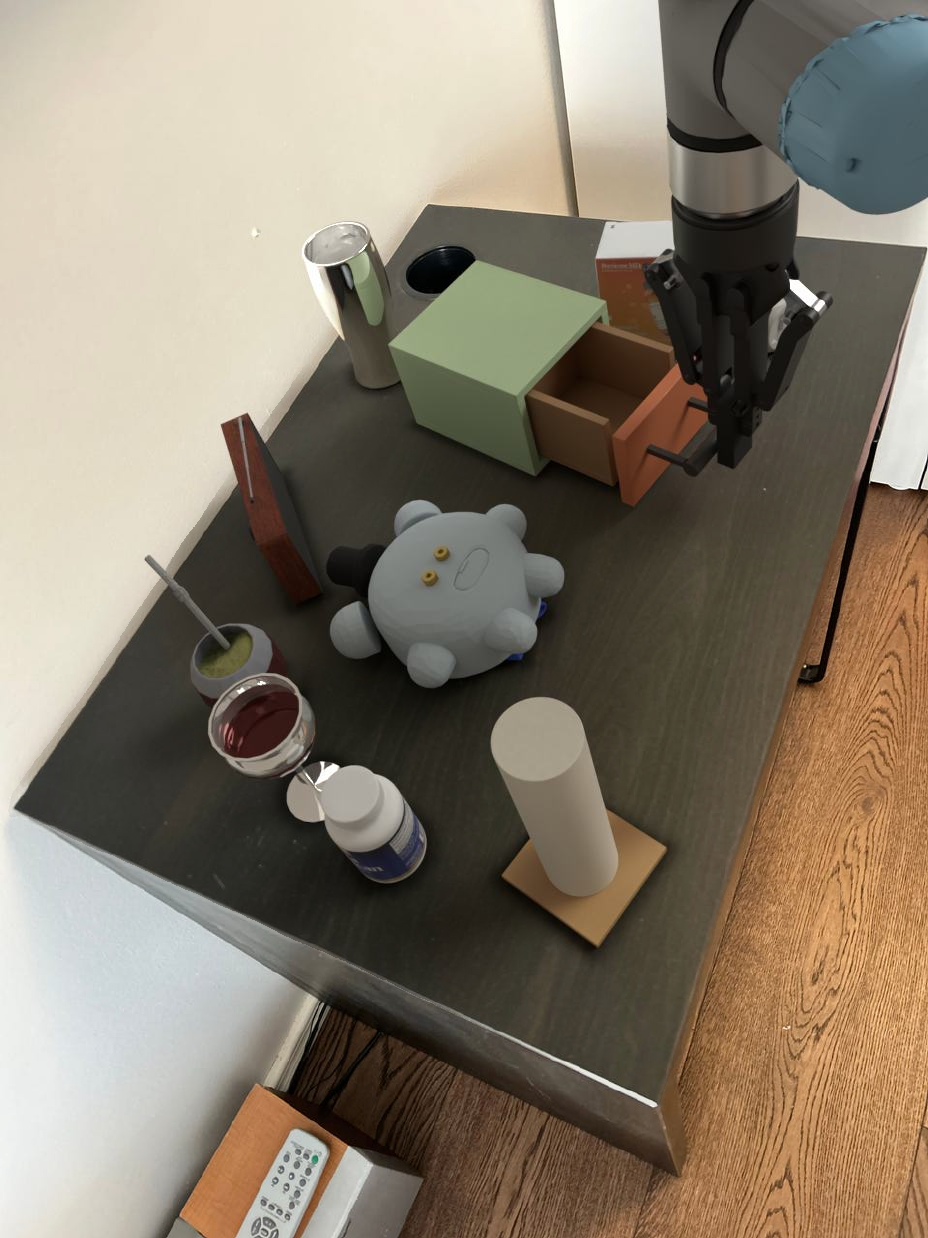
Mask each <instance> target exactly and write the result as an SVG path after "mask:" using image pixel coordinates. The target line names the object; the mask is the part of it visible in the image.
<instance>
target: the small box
mask: <svg viewBox="0 0 928 1238" xmlns="http://www.w3.org/2000/svg"><path fill="white" fill-rule="evenodd" d="M666 249H672V250H674V249H675V247H674V242H673V226H672V219H666V220H665V219H664V220H645V221H644V220H643V221H642V220H641V221H640V220H639V221H638V220H637V221H606V222H605V223H604V227H603V231H602V235H601V237H600V241H599V244H598V248H597V252H596V254H595V258H594V265H595V273H596V282H597V291H598V299H601V300H604V301H606V304H607V311H608V318H609V326H611V327H614V328H617V329H620V330H623V331H626V332H629V333H632V334H635V335H638V336H641V337H644V338H647V339H650V340H653V341H656V342H659V343H662V344H665V345H668V346H671V347H673V346H672V343H671V339H670V336H669V333H668V329H667V326H666V323H665V320H664V316H663V313H662V310H661V306H660V303H659V300H658V298H657V296H656V295H655V293H654V292H653V290H652V288H651V287H650V285H649V284H648V282H647V280H646V279H645V276H644V272H645V270H646V269H647V268H648V267H649V266H650V265H651V264H652V263H653V262H654V261H655V260H656V259H657V258H658V257H659V256H660V255H661V254H662V253H663V252H664V250H666Z"/></svg>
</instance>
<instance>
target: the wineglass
mask: <svg viewBox="0 0 928 1238" xmlns="http://www.w3.org/2000/svg"><path fill="white" fill-rule="evenodd" d="M207 726H208V727H207V728H208V729H207V734H208V737H209V740H210V743H211V746H212V747H213V748H214V749H215V750H216V751H217V753H218V754H219V755H221V756H222V757H223V760H224V761H225V762H226V763H227V764H228V765H229V767H230V768H231V769H232V770H234V771H235V773H237V774H239V775H241V776H243V777H246V778H247V779H252V780H253V779H254V780H264V781H270V780H274V779H279V778H283V777H285V776H286V775H288V774H290V773H292V772H295V773H296V774H294V777H293V778H292V780H291V781H290V782H289V785H288V788H287V792H286V803H287V807H288V809H289V811H290V813H291V814H292V815H293V816H294V817H295V818H296V819H298V820H300V821H303V822H309V823H317V822H322V821H325V819H324V812H323V810H322V807H321V803H320V795H321V791H322V788H323V785H324V784H325V782H326V780H327V779H328V778H329V777H330V776H331V775H332V774H333V773H334V772H336V771H337V770H339V769H341V768H342V767H340V766H339V765H337V764H336V763H333V762H329V761H318V762H314V763H311V764H309V765H307V766H305V767H303V765H302V764H303V763H304V762H306V760H307V758H308V756H309V755H310V753H312V750H313V748H314V744H315V741H316V738H317V718H316V715H315V713H314V710H313V707H312V705H311V704H310V701H309V700H308V699H307V698H306V697H305V696H304V695H303V694H302V693H301V692H300V690H299V688H298V686H296V684H294V682H292V680H291V679H289V677H288V678H286V677H283V676H281V675H278V674H272V673H261V674H256V675H252V676H248V677H246V678H244V679H242V680H240V681H238V682H236V683H235V684H233V685H232V686H231V687H230V688H229V689H228V690H226V691H225V692H224V693H223V694H222V695H221V697H220V698H219V700H218V701H217V702H216V704H215V705H214V707H213V709H211V713H210V716H209V718H208V725H207Z"/></svg>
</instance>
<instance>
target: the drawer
mask: <svg viewBox="0 0 928 1238" xmlns="http://www.w3.org/2000/svg"><path fill="white" fill-rule="evenodd" d="M695 359H696V357H695V356H694V360H695ZM675 361H676V360H675V352H674V349H673V347H671V346H668V345H665V344H662V343H659V342H656V341H653V340H650V339H647V338H644V337H641V336H638V335H635V334H632V333H629V332H626V331H623V330H620V329H617V328H614V327H611V326H608V325H605V324H602V323H599V322H596V321H595V322H594V323H593V325H592V326H591V327H590V328H589V329H588V330H587V331H586V332H585V333H584V334H583V335H582V336H581V337H580V338H579V339H578V340H577V341H576V342H575V343H574V345H573V346H572V347H571V348H570V349H569V350H568V351H567V352H566V353H565V354H564V355H563V356H562V357H561V358H560V359H559V360H558V361H557V362H556V364H555V365H554V366H553V367H552V368H551V369H550V370H549V371H548V372H547V373H546V374H545V375H544V376H543V377H542V378H541V379H540V380H539V381H538V382H537V384H536V385H535V386H534V387H533V388H532V389H531V390H530V391H529V392H528V393H527V394H526V395H525V396H524V399H525V404H526V408H527V412H528V416H529V420H530V425H531V429H532V433H533V437H534V441H535V446H536V450H537V454H539V455H541V456H544V457H546V458H548V459H551V460H550V461H553V462H555V463H558V464H560V465H562V466H565V467H567V468H569V469H571V470H574V471H576V472H578V473H581V474H583V475H586V476H588V477H590V478H593V479H594V480H596V481H599V482H601V483H604V484H606V485H609V486H610V487H614V486H615V485H616V484H617V483H619V489H620V490H619V491H620V496H621V502H622V503H624V504H626V505H628V506H631V507H636V505H637V504H638V502H639V501H640V500H641V499H642V498H643V497H644V496H645V494H646V493H647V492H648V491H649V490H650V488H651V487H652V486H653V485H654V484H655V482H657V480H658V479H659V478H660V477H661V476H662V474H663V473H664V472H665V470H666V469H667V468H668V467H669V466H670V465H671V464H672V465H676V466H679V467H680V468H682V469H683V472H684V473H685V474H686V475H688V476H689V477H692V478H696V477H698V476H699V475H700V474H701V472H702V471H703V470H704V469H705V468H706V467H707V465H708V464H709V463H710V461H711V460H712V459H713V458H714V456H716V455H717V427H716V426H714V428H713V429H712V430H711V431H710V432H709V434H708V435H706V437H705V438H704V439H703V441H702V442H701V443H700V444H699V445H698V447H697V448H696V449H695V450H694V452H692V454H691V455H690V456H689V457H685V456H682V455H680V453H681V452H682V450H683V449H684V448H685V447H686V446H687V444H688V443H689V442H690V441H691V440H692V439H693V437H694V436H695V435H696V434H698V432H699V430H700V429H701V428H702V427H703V426H704V425H705V423H706V422H707V421H708V408H707V396H706V395H705V394H704V391H703V387H701V386H700V385H698V384H697V383H695V384H694V385H689V384H687V383H685V381H684V380H683V378H682V375H681V372H680V369H679V366H678V362H675Z"/></svg>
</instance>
